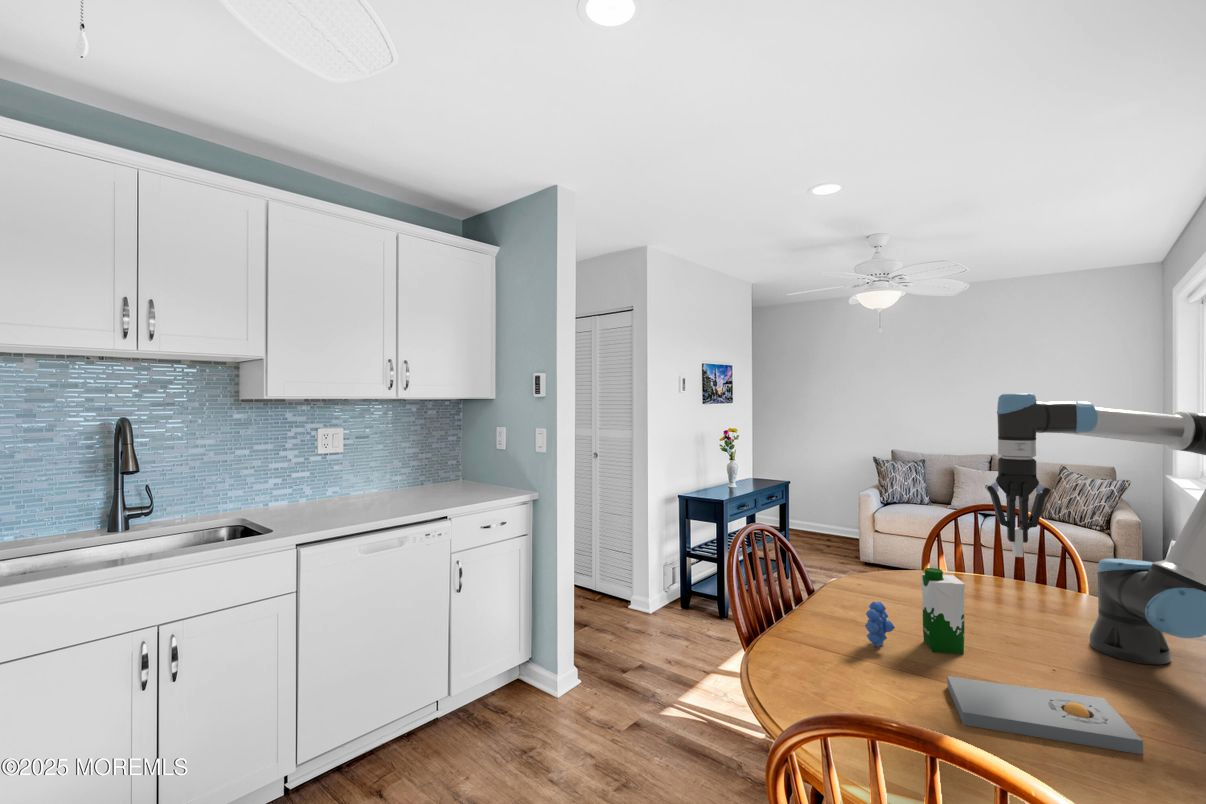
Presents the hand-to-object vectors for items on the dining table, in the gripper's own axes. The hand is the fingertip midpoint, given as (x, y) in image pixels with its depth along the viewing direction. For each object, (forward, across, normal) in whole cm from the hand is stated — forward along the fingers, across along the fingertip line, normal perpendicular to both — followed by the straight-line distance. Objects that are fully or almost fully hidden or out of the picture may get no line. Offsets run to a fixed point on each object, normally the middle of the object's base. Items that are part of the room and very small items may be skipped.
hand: (1017, 555), depth 140 cm
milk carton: (+27, -15, +5) cm, 31 cm away
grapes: (+27, -30, 0) cm, 40 cm away
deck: (+26, -4, -26) cm, 37 cm away
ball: (+24, +3, -26) cm, 36 cm away
